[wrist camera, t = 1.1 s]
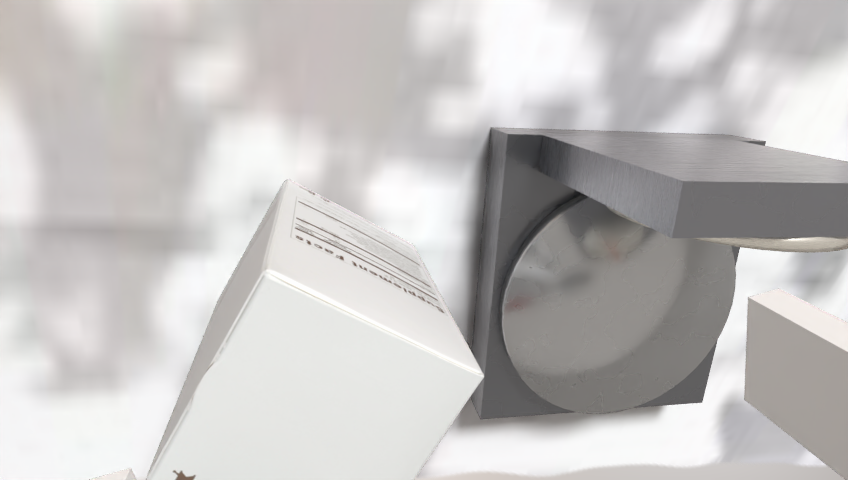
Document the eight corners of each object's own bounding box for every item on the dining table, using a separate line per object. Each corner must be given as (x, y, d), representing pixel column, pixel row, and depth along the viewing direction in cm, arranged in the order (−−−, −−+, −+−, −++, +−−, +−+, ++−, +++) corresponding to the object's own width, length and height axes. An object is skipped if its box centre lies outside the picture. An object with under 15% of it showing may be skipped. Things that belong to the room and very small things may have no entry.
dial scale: (468, 392, 37) (558, 593, 23) (491, 127, 31) (628, 180, 17) (675, 378, 40) (866, 549, 26) (729, 134, 34) (1009, 185, 20)
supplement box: (346, 361, 35) (365, 565, 21) (214, 303, 32) (131, 493, 18) (420, 244, 33) (494, 379, 19) (287, 172, 30) (260, 268, 16)
